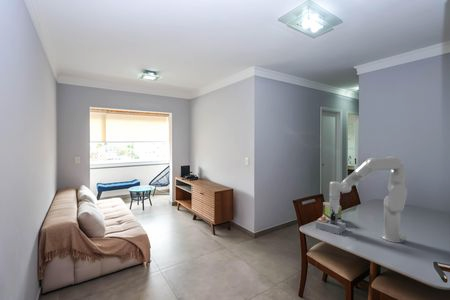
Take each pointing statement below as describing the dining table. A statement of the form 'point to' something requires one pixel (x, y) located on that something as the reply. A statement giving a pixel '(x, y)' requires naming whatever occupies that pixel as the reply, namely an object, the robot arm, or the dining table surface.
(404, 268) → the dining table surface
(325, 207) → the tea box
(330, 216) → the plug
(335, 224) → the socket block
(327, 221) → the shutter
